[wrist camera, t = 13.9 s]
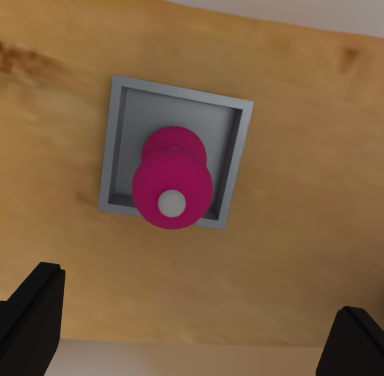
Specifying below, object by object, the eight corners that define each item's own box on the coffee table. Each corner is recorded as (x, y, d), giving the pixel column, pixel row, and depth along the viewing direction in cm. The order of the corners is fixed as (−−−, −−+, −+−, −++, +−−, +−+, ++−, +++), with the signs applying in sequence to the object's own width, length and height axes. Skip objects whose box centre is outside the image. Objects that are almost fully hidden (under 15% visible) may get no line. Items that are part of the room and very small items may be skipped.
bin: (244, 101, 38) (254, 101, 33) (219, 214, 42) (224, 229, 37) (121, 77, 36) (112, 74, 32) (107, 197, 40) (97, 210, 35)
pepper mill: (147, 119, 37) (115, 142, 18) (207, 127, 37) (239, 157, 18) (142, 177, 39) (108, 255, 20) (199, 184, 39) (220, 265, 20)
